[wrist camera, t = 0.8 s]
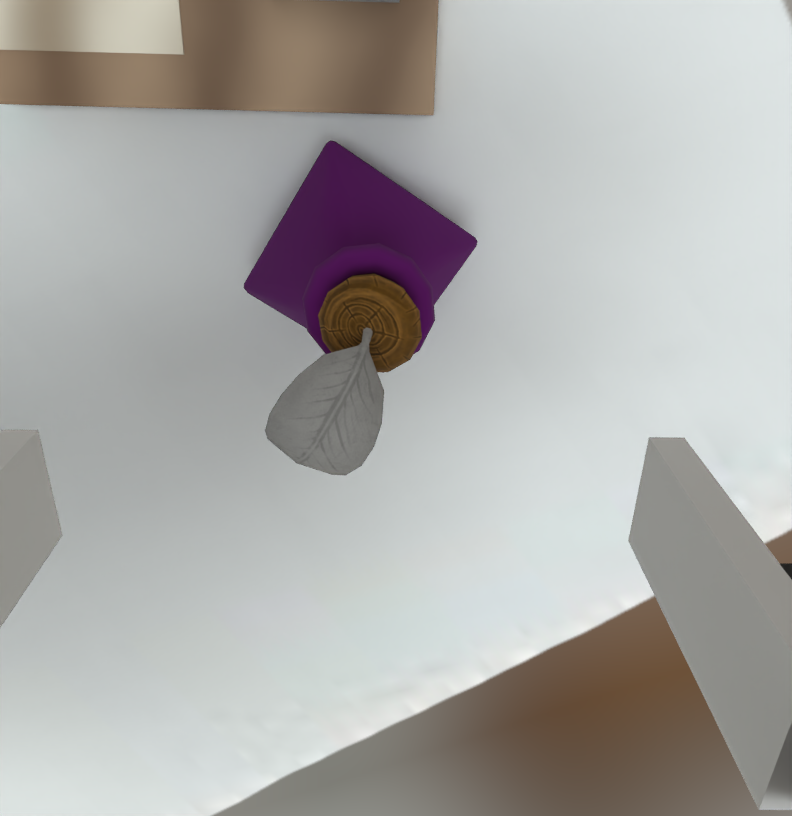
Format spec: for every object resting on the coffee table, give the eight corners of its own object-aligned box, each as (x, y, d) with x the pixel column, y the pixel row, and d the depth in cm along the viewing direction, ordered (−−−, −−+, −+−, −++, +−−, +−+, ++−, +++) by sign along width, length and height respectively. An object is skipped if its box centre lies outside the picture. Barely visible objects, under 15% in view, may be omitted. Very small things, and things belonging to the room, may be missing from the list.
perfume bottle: (335, 129, 32) (271, 213, 16) (473, 224, 34) (541, 386, 17) (254, 268, 35) (128, 460, 18) (385, 348, 36) (373, 587, 20)
